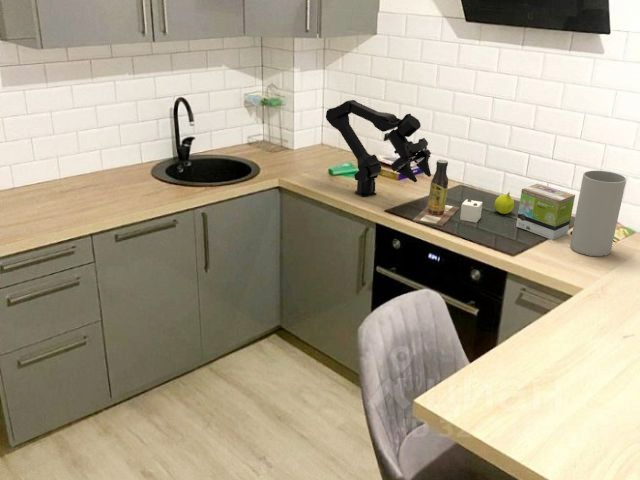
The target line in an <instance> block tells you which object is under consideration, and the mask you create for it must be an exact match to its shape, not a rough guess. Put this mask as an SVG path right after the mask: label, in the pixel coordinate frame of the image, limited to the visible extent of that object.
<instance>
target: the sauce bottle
mask: <svg viewBox="0 0 640 480" xmlns="http://www.w3.org/2000/svg"><path fill="white" fill-rule="evenodd" d="M435 165H436V168H435V173H434V175H433V177H432V179H431V182H430V185H429V186H430V189H429V192H428V193H429V195H428V204H427V206H428V212H429V213H431V214H434V215H440V214H443V213H444V210H445V205H447V204H446V203H447V196H448V195H447V194H448V187H449V177H448V175H447V170H448V169H447V168H448V166H449V161H448V160H446V159H437V160H436V164H435Z"/></svg>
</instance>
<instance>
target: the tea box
mask: <svg viewBox="0 0 640 480" xmlns="http://www.w3.org/2000/svg"><path fill="white" fill-rule="evenodd" d="M520 192H521V194H520V199H519V205H518V211H517V218H516V223H515V224H516V225H515V226H516V228H519V229H523V230H526V231H528V232H531V233H532V234H536V235H539V236H541V237H544V238H546V239H549V240H551V241H553V240H556V239H557V238H560V237H563V236H565V235H567V234H568V233H569V229H570V224H571V218H572V215H573V214H572V213H573V209H574V203H575V198H576V194H573V193H570V192H567V191H564V190H561V189H557V188H553V187H550V186H547V185H544V184H540V183H535V184H532V185H530V186H526V187H524V188H521V191H520Z"/></svg>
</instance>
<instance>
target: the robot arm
mask: <svg viewBox="0 0 640 480" xmlns="http://www.w3.org/2000/svg"><path fill="white" fill-rule="evenodd" d="M350 114H353V115H356V116H357V117H360V118H362V119H364V120H366V121H369V122H370V123H372V125H373V126H374V127H375V128H376V129H377V130H378V131H380V132H382V133H384V132H386V133H384V137H383V142H386V141H389V142H390V144H391V145H392V147H393V148H394V151H393V153H394V154H395V155H397V154H398V156H399V157H398V158H397V159H396V160H394V161H393V162H391V164H390V168H391V170H392V172H396V173H397V174H400V175H402V176H404V177H405V178H407V179H409V180H410V181H412V182H413V183H417V182H418V179H417V177H416V175H415V174H414V171H413V170H412V168H411V166H412V165H411V164H412V163H413V162H414V163H415V166H417V168H418V169H420V170H421V172H423V173H424V175H426V176H427V177H428V178H430V177H431V176H432V173H431V170H430V164H429V159H430V158H431V155H432V153H431V151H430V150H429V149H428V145H429V142H428V141H427V139H426V138H425V137H423V138H419V139H418V141H417V142H415V143H414V142H413V141H412V140H408V138H410V137H411V136H413V135H414V133H416V132H417V131H418V130H419V129H420V128H421V127H422V126H421V125H422V124H421V122H420V120H419V119H417V117H415V115H412V114H411V112H410V113H407V114H405V115H404V117H402V118H398V117H397V115H395V114H394V113H390V112H382V111H378V110H375V109H373V108H372V107H369V106H366V105H365V104H362V103H360V102H357V100H355V99H350V100H346V101H344V102H343V103H341V104H339V105H337V106H335V107H330V108H328V109H327V110H326V113H325V119H326V121H327V122H328V124H330V126H331V127H333V128H334V129H336V130H337V131H338V132H339V133H340V135H341V136H342V138H343V140H344V141H345V142H346V144H347V145H348V147H349V149H350V150H351V152H352V154H353V155H354V157H355V159H356V160H357V161H356V162H357V169H358V171H357V172H356V173H355V174H353V176H354V179H355V181H357V185H356V187H357V188H356V190H354V194H357V195H359V196H361V197H363V198H364V197H365V198H366V197H370V196H376V195H377V193H376V179H377V178H378V177H379V175H380V174H381V171H382V166H381V163H382V162H381V161H380V160H379V159H378V157H377V155H376V154H372V155H371V154H370V153H369V152H368V151H367V149H366V148H365V146H364V145H363V142H362V141H361V140H360V139H359V138H360V137H358V135H357V134H356V132H355V130H354V128H353V127H352V126H351V124H350V116H349V115H350ZM388 131H390V132H388Z"/></svg>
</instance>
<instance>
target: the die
mask: <svg viewBox="0 0 640 480" xmlns="http://www.w3.org/2000/svg"><path fill="white" fill-rule="evenodd" d="M483 204H484V203H483V201H480V200H479V201H478V200H472V199H468V198H467V199H465V200H464V201H463V202H462V203H461V208H460V218H459V220H460V221H465V222H470V223H478V222H479V221H480V219H481V217H482V210H483Z"/></svg>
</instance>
